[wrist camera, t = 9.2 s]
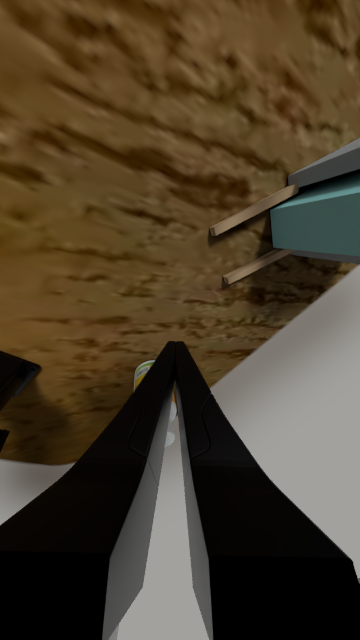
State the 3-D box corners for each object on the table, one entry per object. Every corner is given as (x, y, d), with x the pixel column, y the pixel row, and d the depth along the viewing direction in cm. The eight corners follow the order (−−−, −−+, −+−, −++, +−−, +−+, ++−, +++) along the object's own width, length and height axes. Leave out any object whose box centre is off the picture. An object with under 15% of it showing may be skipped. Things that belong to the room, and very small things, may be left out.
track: (224, 281, 19) (229, 284, 18) (209, 227, 16) (213, 227, 15) (289, 248, 19) (298, 249, 18) (288, 185, 15) (298, 182, 14)
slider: (273, 247, 18) (367, 257, 10) (270, 209, 16) (386, 186, 8) (335, 215, 18) (481, 201, 10) (340, 172, 16) (528, 113, 8)
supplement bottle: (164, 383, 26) (173, 452, 18) (132, 382, 24) (126, 458, 16) (173, 360, 24) (188, 426, 16) (138, 357, 22) (134, 430, 14)
